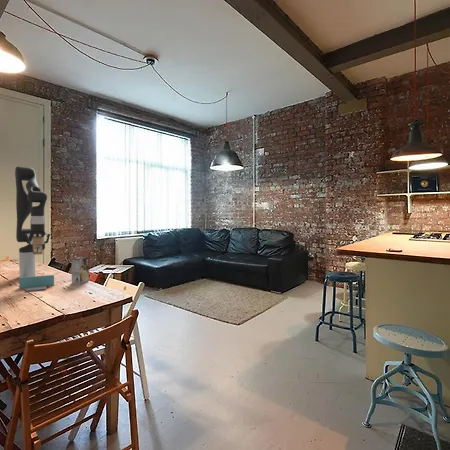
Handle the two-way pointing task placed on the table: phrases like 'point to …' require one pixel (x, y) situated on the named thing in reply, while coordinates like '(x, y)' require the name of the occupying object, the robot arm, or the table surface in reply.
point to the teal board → (36, 281)
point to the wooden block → (37, 245)
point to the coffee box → (80, 270)
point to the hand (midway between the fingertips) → (37, 249)
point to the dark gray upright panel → (35, 288)
